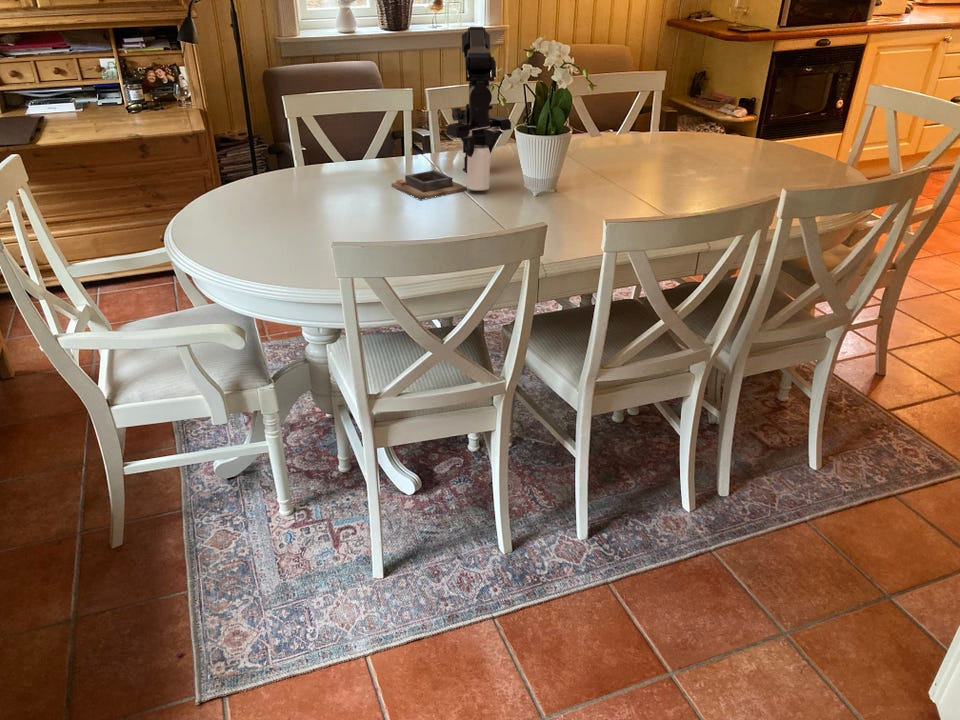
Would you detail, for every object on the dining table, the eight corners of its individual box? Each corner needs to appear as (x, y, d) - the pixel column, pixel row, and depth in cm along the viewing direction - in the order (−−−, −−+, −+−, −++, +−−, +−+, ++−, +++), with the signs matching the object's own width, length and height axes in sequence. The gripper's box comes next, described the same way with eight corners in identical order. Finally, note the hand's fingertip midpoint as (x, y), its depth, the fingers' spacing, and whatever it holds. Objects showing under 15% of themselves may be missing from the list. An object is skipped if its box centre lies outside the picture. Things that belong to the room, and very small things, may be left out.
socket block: (437, 177, 231) (437, 166, 229) (466, 190, 219) (466, 178, 218) (391, 186, 223) (391, 174, 221) (420, 200, 211) (419, 188, 210)
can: (474, 191, 214) (476, 148, 209) (462, 187, 219) (463, 145, 214) (493, 190, 217) (495, 147, 212) (480, 186, 222) (482, 144, 217)
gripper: (489, 92, 217) (489, 147, 225) (434, 100, 208) (436, 156, 216) (512, 98, 209) (511, 155, 217) (457, 106, 200) (458, 165, 208)
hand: (479, 157), depth 215 cm, fingers closed on can, 6 cm apart
